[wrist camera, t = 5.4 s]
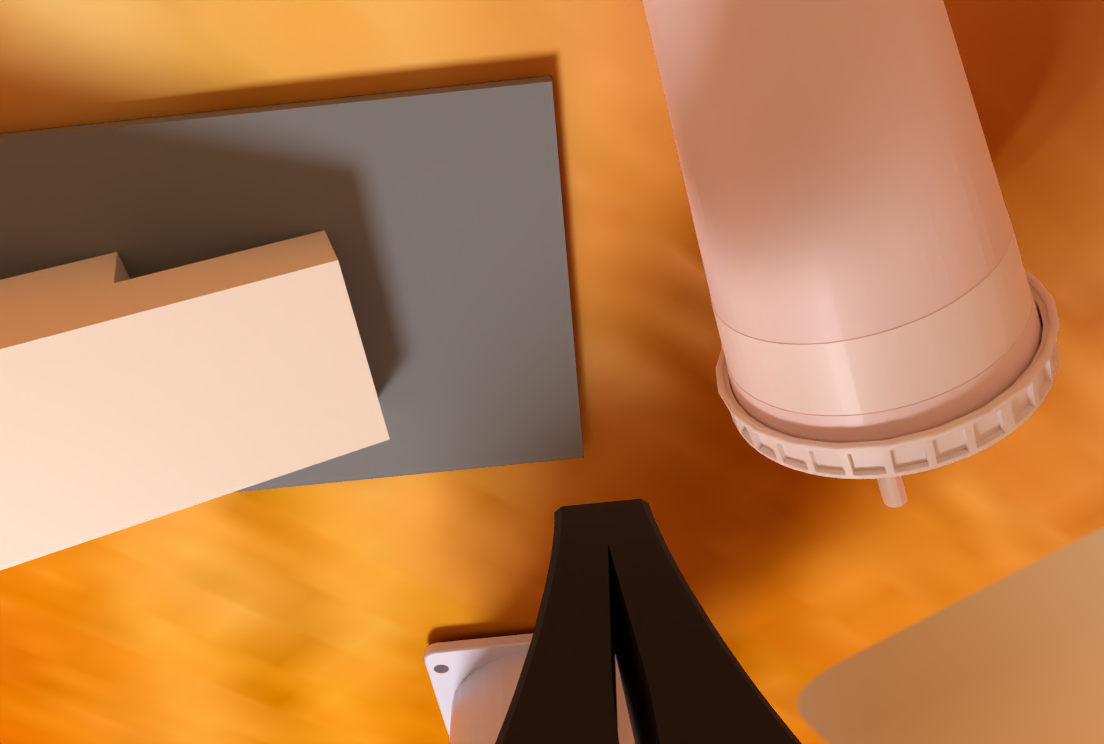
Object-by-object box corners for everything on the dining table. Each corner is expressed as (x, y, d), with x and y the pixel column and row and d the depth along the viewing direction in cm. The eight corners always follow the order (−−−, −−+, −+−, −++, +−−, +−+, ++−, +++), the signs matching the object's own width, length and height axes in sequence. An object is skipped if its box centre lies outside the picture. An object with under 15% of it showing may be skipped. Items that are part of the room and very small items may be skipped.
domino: (338, 260, 15) (-196, 400, 13) (389, 439, 18) (-37, 583, 15) (324, 230, 16) (-165, 353, 14) (375, 402, 19) (-23, 530, 17)
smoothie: (480, -7, 13) (727, 530, 20) (730, -90, 7) (948, 688, 14) (751, -164, 14) (892, 388, 21) (1125, -328, 9) (1148, 483, 16)
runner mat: (582, 447, 21) (583, 457, 21) (-336, 539, 21) (-348, 550, 21) (550, 75, 15) (552, 81, 15) (-725, 210, 15) (-752, 218, 15)
